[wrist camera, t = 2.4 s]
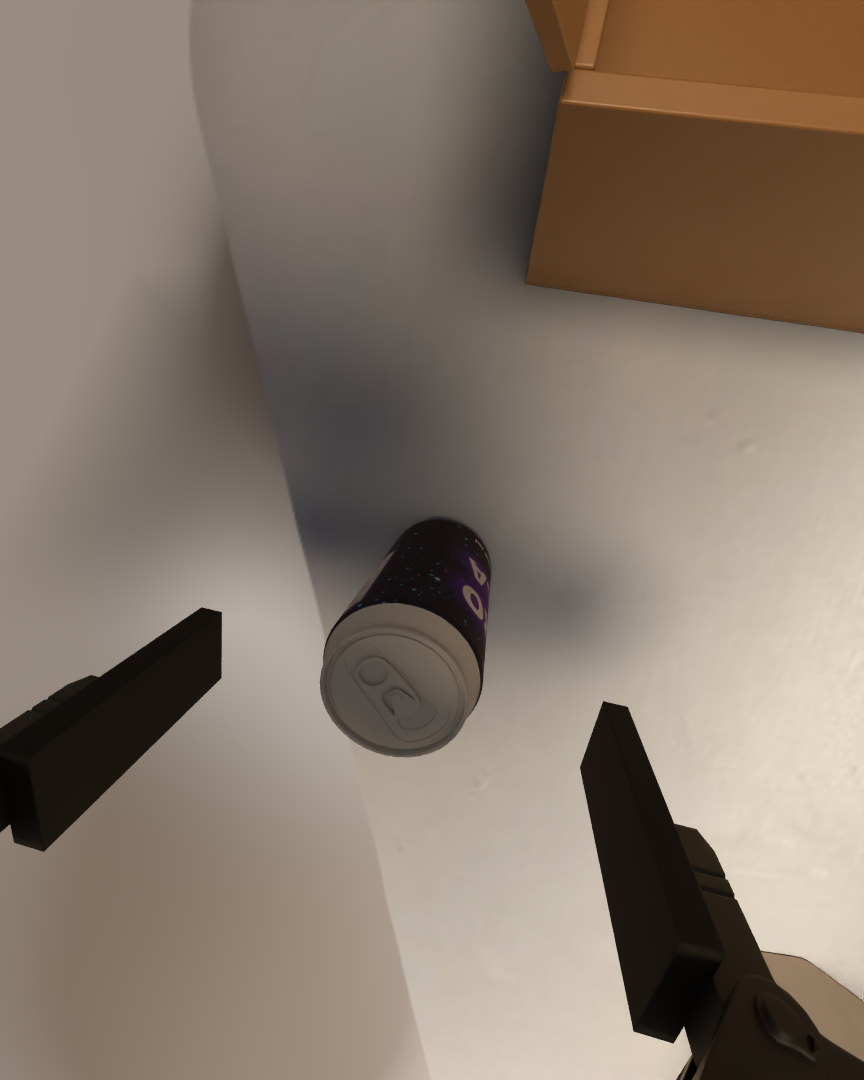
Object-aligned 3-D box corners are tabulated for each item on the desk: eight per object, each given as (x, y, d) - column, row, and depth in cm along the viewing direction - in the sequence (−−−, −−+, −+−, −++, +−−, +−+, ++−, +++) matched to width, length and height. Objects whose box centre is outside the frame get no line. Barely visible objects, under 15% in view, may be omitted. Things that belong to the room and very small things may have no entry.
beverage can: (437, 624, 27) (387, 792, 15) (374, 555, 26) (274, 678, 15) (512, 571, 25) (518, 717, 14) (447, 494, 24) (396, 582, 13)
